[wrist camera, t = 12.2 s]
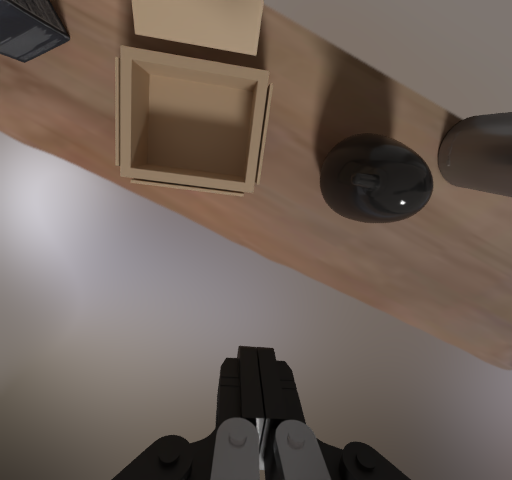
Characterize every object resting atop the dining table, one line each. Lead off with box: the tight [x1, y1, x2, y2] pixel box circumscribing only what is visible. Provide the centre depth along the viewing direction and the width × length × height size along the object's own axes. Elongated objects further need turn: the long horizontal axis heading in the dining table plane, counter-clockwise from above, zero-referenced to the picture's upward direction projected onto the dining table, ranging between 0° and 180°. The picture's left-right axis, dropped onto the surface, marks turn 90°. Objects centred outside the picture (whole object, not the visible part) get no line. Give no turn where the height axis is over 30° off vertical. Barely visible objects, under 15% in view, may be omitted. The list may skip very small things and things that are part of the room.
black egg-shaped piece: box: [320, 133, 433, 223], centre depth 33 cm, size 10×10×15 cm
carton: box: [115, 45, 273, 196], centre depth 34 cm, size 15×12×7 cm
